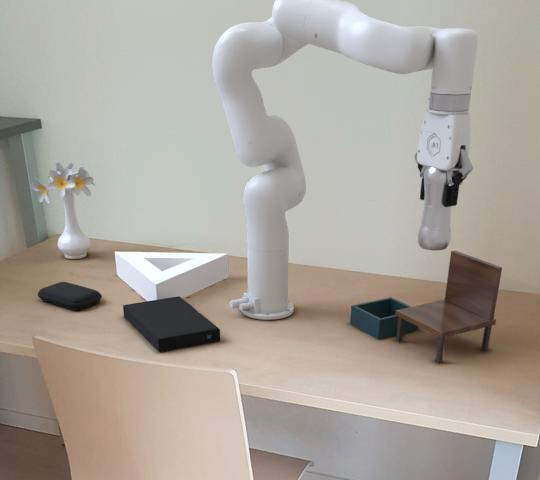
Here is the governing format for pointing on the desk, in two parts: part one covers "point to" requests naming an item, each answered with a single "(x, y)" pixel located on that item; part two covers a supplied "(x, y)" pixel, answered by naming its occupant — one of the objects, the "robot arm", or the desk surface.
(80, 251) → the flower vase
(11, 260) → the desk surface
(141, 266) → the triangle block
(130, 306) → the external hard drive
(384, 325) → the rectangular frame
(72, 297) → the carrying case
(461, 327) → the chair
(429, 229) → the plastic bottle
